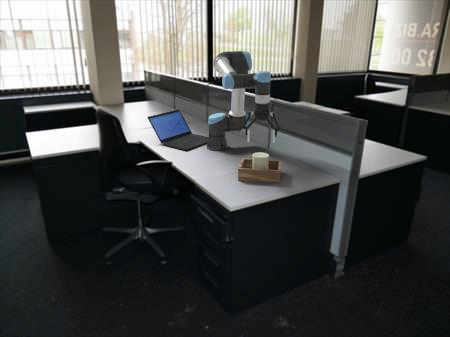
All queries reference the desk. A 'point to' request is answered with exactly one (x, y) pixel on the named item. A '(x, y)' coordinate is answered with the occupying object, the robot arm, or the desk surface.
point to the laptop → (175, 131)
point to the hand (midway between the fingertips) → (260, 141)
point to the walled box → (259, 172)
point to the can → (260, 160)
